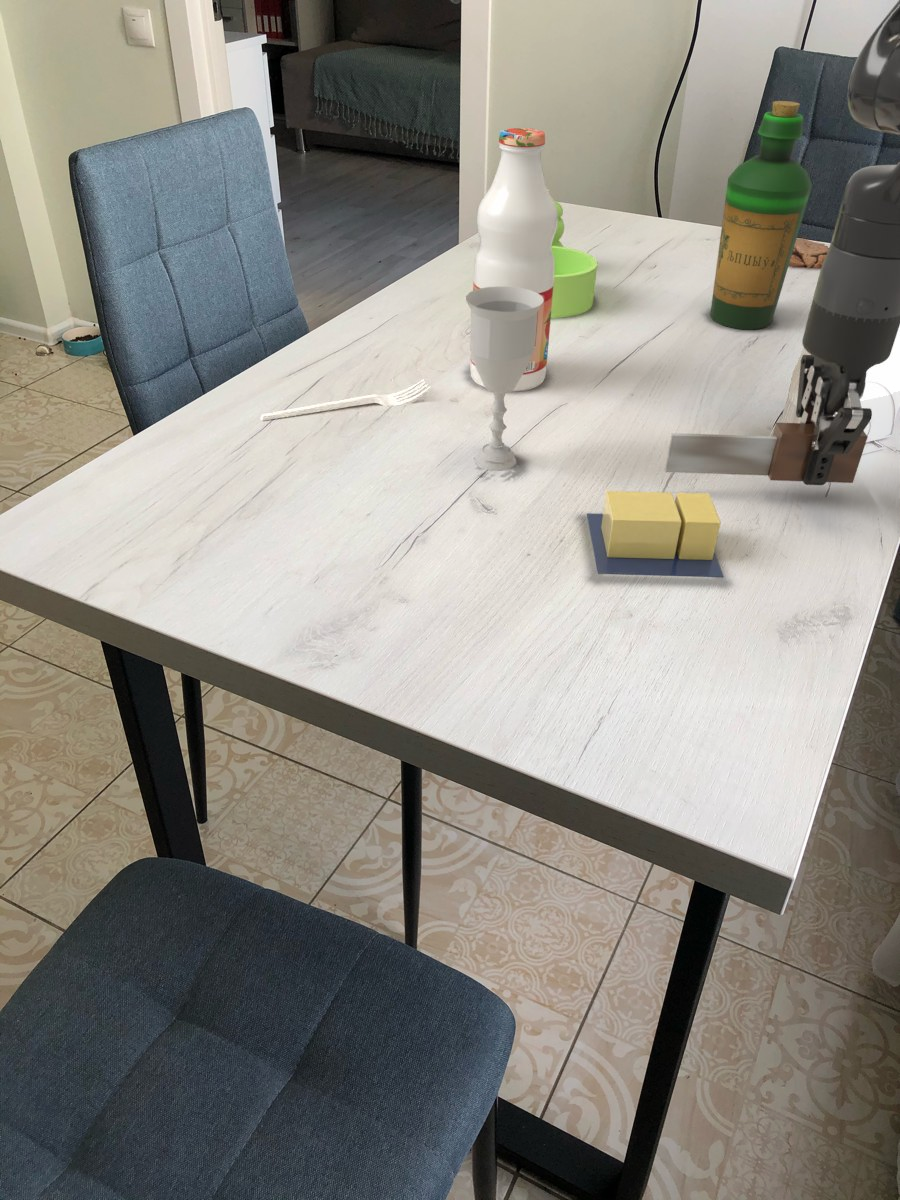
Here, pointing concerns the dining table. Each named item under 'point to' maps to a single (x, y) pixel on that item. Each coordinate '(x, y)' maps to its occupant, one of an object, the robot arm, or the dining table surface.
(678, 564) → the butter dish
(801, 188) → the bottle
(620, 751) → the dining table surface
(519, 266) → the fruit juice
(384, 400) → the fork
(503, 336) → the chalice
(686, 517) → the butter slice
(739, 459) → the knife
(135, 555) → the dining table surface
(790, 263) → the cookie
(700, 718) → the dining table surface
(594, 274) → the food container
